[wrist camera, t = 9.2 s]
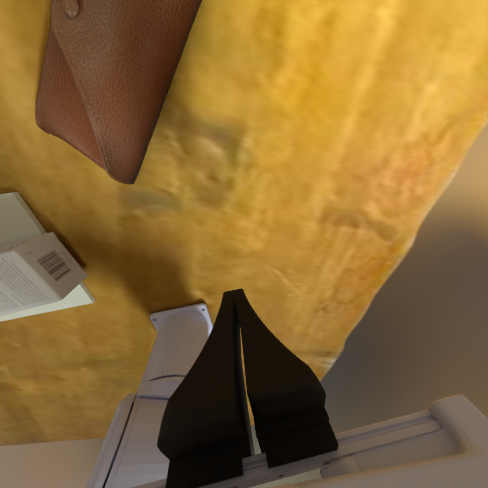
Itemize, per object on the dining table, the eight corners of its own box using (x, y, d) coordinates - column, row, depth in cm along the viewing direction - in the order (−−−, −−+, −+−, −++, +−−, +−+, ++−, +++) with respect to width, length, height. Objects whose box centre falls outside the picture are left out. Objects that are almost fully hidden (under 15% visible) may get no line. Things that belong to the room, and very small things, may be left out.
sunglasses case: (80, -210, 9) (77, -426, 5) (196, -34, 14) (239, -75, 10) (33, 132, 15) (14, 154, 11) (128, 169, 20) (139, 194, 16)
